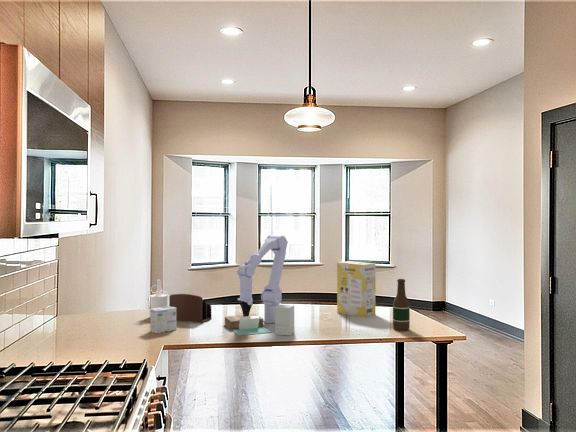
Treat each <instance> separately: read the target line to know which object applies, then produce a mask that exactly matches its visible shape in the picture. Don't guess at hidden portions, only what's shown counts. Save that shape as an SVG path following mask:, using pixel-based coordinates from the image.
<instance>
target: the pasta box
mask: <svg viewBox="0 0 576 432" xmlns="http://www.w3.org/2000/svg"><path fill="white" fill-rule="evenodd" d="M336 263H337V264H336V268H337V269H336V271H337V273H336V277H337V278H336V282H337V283H336V287H337V288H336V289H337V290H336V291H337V292H336V298H337V299H336V301H337V302H336V307H337V309H336V312H337V314H343V315H349V316H351V317H352V316H353V317H359V318H363V319H364V318H368V317H372V316H376V263H373V262H365V261H364V262H363V261H354V260H347V261H336Z"/></svg>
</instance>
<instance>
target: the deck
mask: <svg viewBox="0 0 576 432" xmlns="http://www.w3.org/2000/svg"><path fill="white" fill-rule="evenodd" d="M249 316H259V315H258V314H256V313H255V314H254V313H252V314H249ZM240 317H243V314H241V315H228V316H227V315H226V316H224V326H225V327H227V328H228V329H229V330H231V331H232V330H235V329H239V322H240ZM259 318H260V319H259V325H258V327H264V321H263V319H264V317H263V318H262V317H261V316H259Z"/></svg>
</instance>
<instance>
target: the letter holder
mask: <svg viewBox="0 0 576 432" xmlns="http://www.w3.org/2000/svg"><path fill="white" fill-rule="evenodd" d="M169 295H170V300H169V306H171V307H176V320H177V321H176V322H187V323H188V322H189V323H198V324H202V323H203V324H204V323H206V322H207V321H210V320H212V305H211V304H210V303H208V302H207V301H206V300H203V297H202V296H200V295H196V294H195V295H194V294H188V293H175V294H174V293H173V294H169Z"/></svg>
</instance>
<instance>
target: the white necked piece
mask: <svg viewBox="0 0 576 432" xmlns="http://www.w3.org/2000/svg"><path fill="white" fill-rule="evenodd" d="M153 287H156V290H155V292H154V291H153ZM150 291H151V292H152V293H153V294H150V295H149V297H150V309H154V308H160V307H167V306H169V300H170V295H171V294H170V293H169V292H167V291H164V290H163V289H162V280H161V279H157V281H156V284H154V285H152V286H151V288H150ZM162 292H164V293H162ZM166 293H167V294H166Z"/></svg>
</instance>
